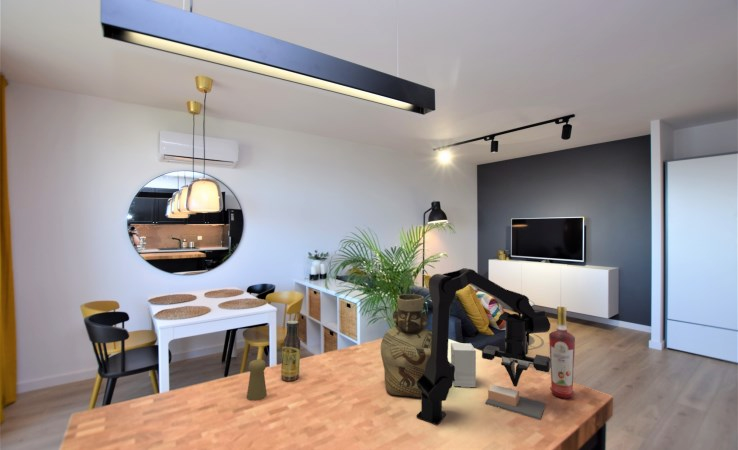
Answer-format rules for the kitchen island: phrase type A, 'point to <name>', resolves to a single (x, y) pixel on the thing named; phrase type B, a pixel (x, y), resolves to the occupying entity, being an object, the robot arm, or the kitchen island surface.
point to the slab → (503, 395)
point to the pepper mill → (256, 380)
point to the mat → (522, 407)
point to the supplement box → (464, 364)
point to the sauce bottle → (291, 353)
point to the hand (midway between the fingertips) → (515, 386)
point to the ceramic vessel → (406, 347)
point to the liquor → (562, 357)
